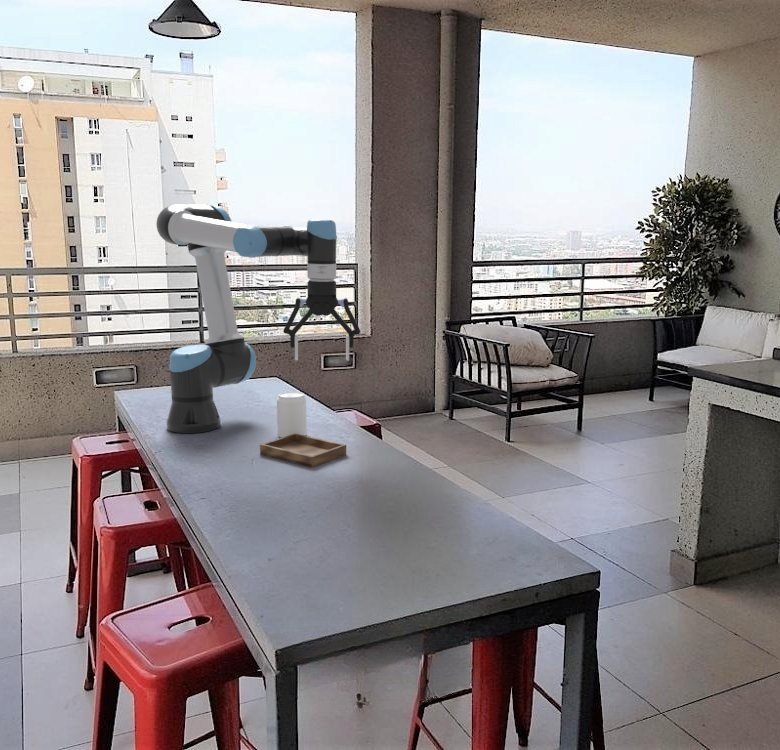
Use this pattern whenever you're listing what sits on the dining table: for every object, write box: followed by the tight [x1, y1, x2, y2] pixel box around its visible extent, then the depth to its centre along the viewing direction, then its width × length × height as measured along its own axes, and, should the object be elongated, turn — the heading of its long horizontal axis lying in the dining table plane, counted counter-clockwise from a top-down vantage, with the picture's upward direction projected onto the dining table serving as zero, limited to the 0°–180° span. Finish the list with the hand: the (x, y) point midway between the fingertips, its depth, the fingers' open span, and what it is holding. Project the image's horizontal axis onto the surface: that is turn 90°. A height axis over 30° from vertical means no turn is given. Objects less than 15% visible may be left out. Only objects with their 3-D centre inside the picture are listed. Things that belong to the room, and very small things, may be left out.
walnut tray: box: [259, 434, 347, 468], centre depth 190 cm, size 18×13×3 cm
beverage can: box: [276, 391, 308, 438], centre depth 206 cm, size 8×8×12 cm
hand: (322, 359), depth 198 cm, fingers open, 13 cm apart
